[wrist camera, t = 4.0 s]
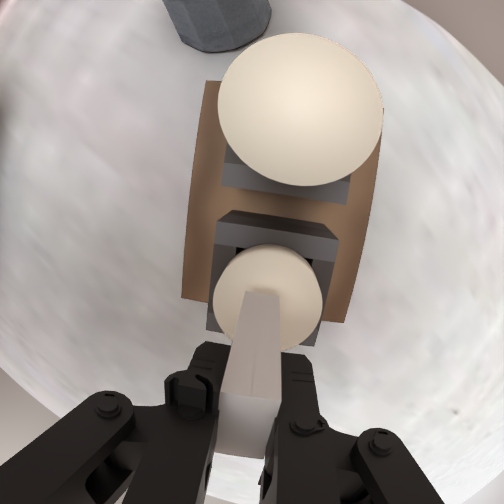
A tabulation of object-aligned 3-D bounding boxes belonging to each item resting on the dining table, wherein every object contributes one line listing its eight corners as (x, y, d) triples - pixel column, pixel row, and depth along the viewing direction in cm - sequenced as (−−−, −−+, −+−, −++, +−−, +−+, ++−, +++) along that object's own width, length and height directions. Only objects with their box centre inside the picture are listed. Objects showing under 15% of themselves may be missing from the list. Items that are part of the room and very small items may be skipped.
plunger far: (230, 290, 23) (209, 343, 16) (239, 220, 22) (218, 244, 14) (300, 301, 23) (309, 358, 15) (314, 232, 22) (333, 262, 14)
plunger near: (238, 175, 17) (206, 173, 9) (251, 86, 16) (231, 26, 8) (331, 189, 17) (372, 200, 9) (343, 101, 15) (386, 52, 8)
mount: (189, 287, 27) (155, 331, 19) (212, 89, 22) (183, 52, 14) (338, 310, 26) (359, 363, 18) (374, 114, 22) (415, 89, 13)
